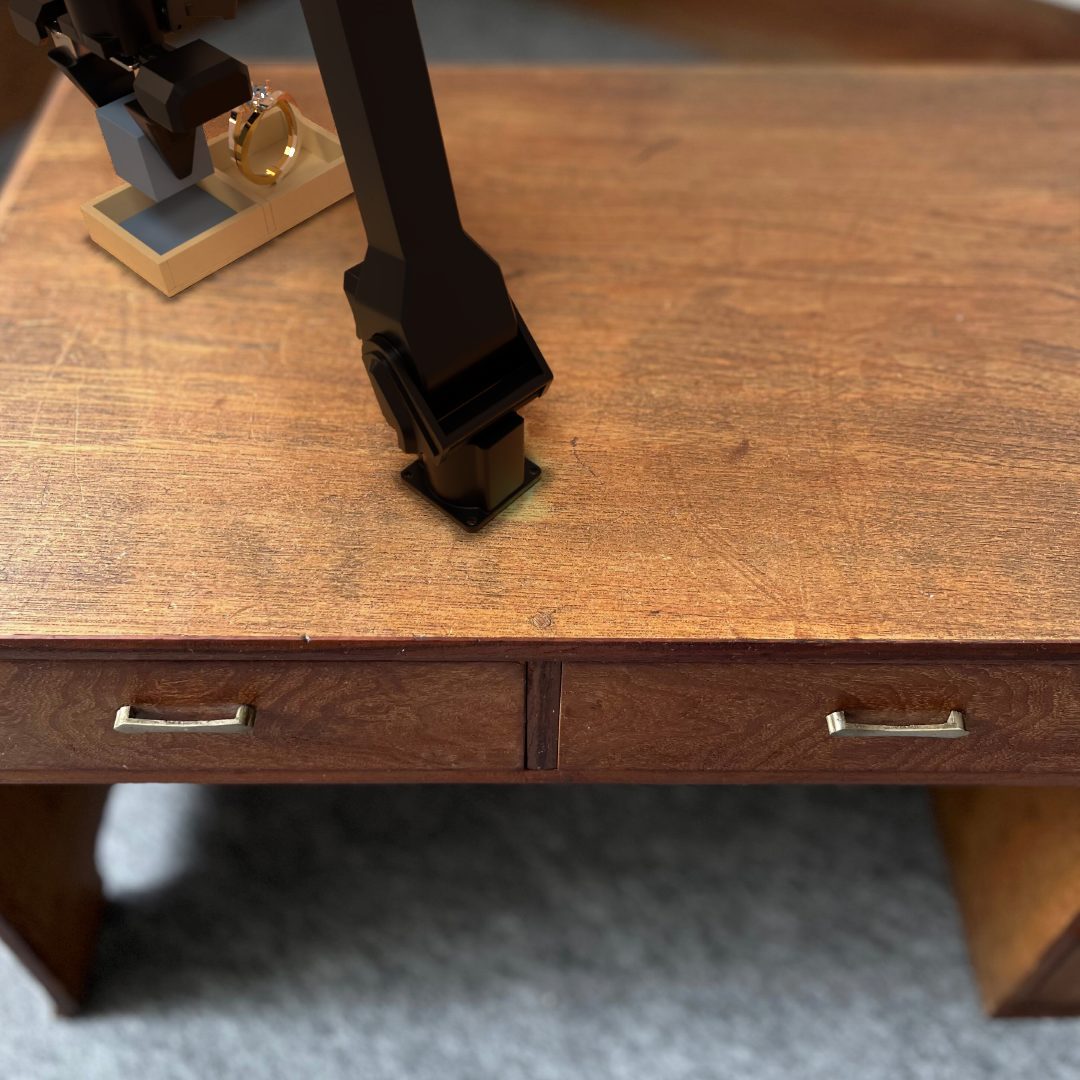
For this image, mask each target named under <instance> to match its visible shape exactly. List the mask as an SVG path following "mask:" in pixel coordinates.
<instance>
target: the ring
mask: <svg viewBox="0 0 1080 1080" xmlns="http://www.w3.org/2000/svg"><path fill="white" fill-rule="evenodd" d="M251 85H252V90H253V97H252V100H251V101H249V102H247V103H244V104H242V105H240V106H238V107H236V108H234V109H232V110H230V116H229V122H228V123H229V124H228V131H229V150H230V156H231V159H232V162H233V164H234V166H235V168H236V170H237V171H238V172H239V173H240V174H241V175H242V176H243V177H244V178H246V179H247V180H249V181H250V182H252V183H254V184H257V185H269V184H272V183H274V182H275V183H280V182H281V181H282V180H283V176H285V175H286V174H287V172H288V171H289V170H290V169H291V167H292V166H293V164H294V162H295V161H296V158H297V156H298V154H299V151H300V147H301V143H302V136H303V122H302V116H303V115H302V113H301V109H300V108H299V105H298V103H297V101H296V100H295V98H294V96H293V95H292V94H291V93H289V92H286V91H284V90H280V89H279V90H274V89H273V90H272V87H271V86H272V85H271V80H270V79H265V85H264V86H260V85H255V84H254V82H253V81H251ZM275 105H276V106H279V107H280V109H281V110H282V112H283V113H284V115H285V118H286V120H287V124H288V144H287V148H286V151H285V153H284V155H283V157H282V159H281V160H280V162H279V163H278V164H277V165H276V166H275V167H274V166H270V167H269V168H268V169H267V172H266V173H264V174H254V173H253V172H252V171H251V169H250V167H249V164H248V148H249V144H250V141H251V138H252V136H253V133H254V131H255V129H256V127H257V125H258V123H259V121H260V120H261V118H262V116H263V114H264V112H266V111H268V110H270V109H271V107H272V108H273V106H275ZM251 110H254V111H253V112H252V113H251V115H250V116H249V117H248V119H247V120H246V121H245V122H246V123H245V122H244V123H245V125H244V127H243V129H242V131H241V134H240V128H241V124H242V120H243V114H244V113H245V114H248V113H249V112H250V111H251ZM301 115H302V116H301Z"/></svg>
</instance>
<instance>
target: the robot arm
mask: <svg viewBox="0 0 1080 1080" xmlns="http://www.w3.org/2000/svg"><path fill="white" fill-rule="evenodd" d="M238 1H239V0H9V2H8V5H7V9H8V11H9V14H10V16H11V19H12V21H13V24H14V27H15V29H16V32H17V34H18V35H19V36H21V37H23V38H24V39H25V40H27V41H28V42H30V43H32V44H33V45H35V46H36V47H39V48H40V47H42V46H44V45H47V43H48V40H49V33H50V34H51V37H52V39H53V42H54V45H55V47H54V48H51V49H49V50H48V51H47V52H46V57H47V58H48V60H49V61H50V62H51V63H53V64H54V65H55V66H56V67H57V68H58V69H59V70H60V72H62V74H63V75H64V76H66V78H67V79H68V80H69V81H70V82H71V83H72V84H73V86H75V87H76V89H78V91H80V93H81V95H83V96H84V97H85V98H86V99H87V100H88V101H89V103H90V104H91V105H92V106H93V107H94V108H95V110H96V109H98V108H101V107H103V106H105V105H107V104H109V103H111V102H114V101H116V100H118V99H120V98H122V97H125V96H127V95H129V94H131V93H133V92H135V93H136V97H137V98H136V99H133V100H131V101H129V102H127V103H125V104H124V107H125V108H126V110H127V111H128V112H129V114H130V115H131V117H132V118H133V119H134V121H135V122H136V124H137V125H138V126H139V128H140V129H141V130H142V132H143V133H144V135H145V136H146V137H147V139H148V140H149V142H150V143H151V144H152V146H153V147H154V149H155V150H156V151H157V153H158V154H159V156H160V157H161V158H162V160H163V161H164V162H165V164H166V165H167V166H168V168H169V169H170V170H171V172H172V173H173V174H174V175H175V177H176V178H178V179H179V180H182V179H184V178H186V177H188V176H190V175H191V174H192V168H193V158H194V148H195V138H196V129H197V127H198V126H200V125H204V124H206V123H208V122H210V121H212V120H214V119H216V118H218V117H221V116H223V115H225V114H227V113H229V112H231V111H232V109H234V108H236V107H238V106H240V105H242V104H244V103H247V102H249V101H251V100H252V97H253V90H252V85H251V82H252V81H251V77H250V71H249V68H248V65H247V64H246V63H244V62H242V61H240V60H238V59H236V58H235V57H233V56H231V55H229V53H226V52H225V51H222V50H221V49H219V48H217V47H216V46H214V45H212V44H211V43H208V42H207V41H205V40H203V39H201V38H197V39H195V40H193V41H190V42H188V43H186V44H184V45H182V46H179V47H176V46H174V45H173V44H171V43H169V42H168V41H166V36H165V35H167V34H169V33H171V34H173V35H177V34H179V33H181V32H183V31H185V30H188V29H190V23H189V19H188V17H195V18H196V17H197V18H199V17H200V18H203V17H205V18H208V17H209V18H222V19H223V20H224V21H233V20H236V19H237V18H238V17H237V16H238V3H239V2H238ZM299 3H300V7H301V11H302V13H303V18H304V21H305V24H306V28H307V31H308V35H309V38H310V41H311V46H312V48H313V52H314V56H315V59H316V63H317V66H318V70H319V73H320V77H321V80H322V84H323V88H324V92H325V95H326V98H327V102H328V105H329V109H330V112H331V116H332V120H333V124H334V127H335V130H336V133H337V134H336V135H337V136H338V137H339V141H340V144H341V148H342V151H343V155H344V158H345V162H346V165H347V169H348V173H349V176H350V180H351V183H352V187H353V190H354V192H353V194H354V197H355V200H356V204H357V208H358V211H359V214H360V218H361V222H362V225H363V229H364V232H365V236H366V240H367V247H366V250H365V255H364V259H363V261H361V262H359V263H357V264H355V265H353V266H351V267H349V268H348V269H346V270H345V271H344V272H343V281H342V282H343V284H342V289H343V292H344V295H345V297H346V300H347V303H348V304H349V308H350V311H351V313H352V315H353V320H354V324H355V336H356V338H357V339H358V340H359V341H361V342H362V344H361V360H362V363H363V366H364V368H365V371H366V373H367V377H368V379H369V382H370V384H371V387H372V391H373V393H374V396H375V398H376V401H377V403H378V406H379V409H380V412H381V414H382V416H383V418H384V420H385V422H386V423H387V424H388V425H389V427H390V428H391V429H393V430H394V431H396V437H397V443H398V444H397V445H398V449H400V450H401V451H402V452H403V453H404V454H406V455H416V456H417V459H416V460H414V461H413V462H412V463H411V464H409V465H408V466H406V467H405V468H404V469H402V470H401V471H400V480H401V483H403V484H404V485H405V486H407V488H409V489H410V490H412V491H413V492H414V493H416V495H418V496H419V497H421V498H422V499H424V500H425V501H426V502H428V503H429V504H430V505H431V506H433V507H434V508H435V509H436V510H438V511H440V512H441V513H442V514H444V515H445V516H446V517H448V518H449V519H450V520H451V521H453V522H454V523H455V524H457V525H458V526H460V527H461V528H462V529H464V530H465V531H466V532H469V533H474V532H475V533H476V532H477V531H479V529H481V528H482V527H483V526H484V525H486V524H487V523H488V522H490V521H491V520H492V519H493V518H494V517H496V516H497V515H498V514H500V512H502V511H503V510H504V509H505V508H507V507H508V506H509V505H510V504H511V503H512V502H514V501H515V500H516V499H518V498H519V497H520V496H521V495H522V494H523V493H525V492H526V491H527V490H528V489H529V488H530V487H532V486H533V485H534V484H536V483H537V482H538V481H539V480H540V479H541V478H542V475H543V474H542V471H543V470H542V468H541V467H540V466H539V465H537V464H536V463H535V462H533V461H532V460H530V459H529V458H528V457H526V456H525V418H524V417H523V416H522V415H520V414H519V413H518V411H519V410H521V409H523V408H524V407H526V406H527V405H529V404H530V403H532V402H533V401H535V400H536V399H537V398H538V399H540V398H542V397H543V396H545V395H546V394H547V393H548V391H549V389H550V387H551V385H552V383H553V381H554V378H555V375H554V373H553V371H552V369H551V368H550V365H549V364H548V362H547V361H546V360H547V359H546V358H545V357H544V354H543V353H542V351H541V350H540V347H539V346H538V343H537V342H536V341H535V338H534V337H533V335H532V332H531V331H530V329H529V328H528V325H527V324H526V322H525V320H524V319H523V317H522V315H521V313H520V311H519V309H518V307H517V306H516V303H515V302H514V300H513V298H512V296H511V295H510V293H509V289H508V287H507V283H506V280H505V276H504V273H503V270H502V266H501V265H500V264H499V262H498V261H497V260H496V259H495V258H494V257H493V256H492V255H491V254H490V253H489V252H488V251H487V250H486V249H484V247H483V246H482V245H481V244H480V243H478V241H476V240H475V239H474V238H473V237H472V236H471V235H470V234H469V233H468V232H467V231H466V230H465V229H464V226H463V223H462V222H463V221H462V219H461V215H460V210H459V205H458V202H457V197H456V192H455V188H454V182H453V179H452V173H451V169H450V164H449V160H448V155H447V150H446V146H445V142H444V141H445V140H444V137H443V132H442V127H441V124H440V118H439V114H438V109H437V104H436V100H435V95H434V91H433V87H432V82H431V81H432V80H431V77H430V72H429V68H428V62H427V57H426V54H425V49H424V45H423V40H422V36H421V31H420V26H419V21H418V17H417V12H416V8H415V4H414V0H299ZM48 32H49V33H48ZM136 70H138V71H137V73H136V74H135V71H136ZM470 523H473V524H470Z"/></svg>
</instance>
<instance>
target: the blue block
mask: <svg viewBox="0 0 1080 1080" xmlns="http://www.w3.org/2000/svg"><path fill="white" fill-rule="evenodd" d="M136 98H137V97H136V93H135V92H133V93H131V94H129V95H127V96H125V97H122V98H120V99H118V100H116V101H114V102H111V103H109V104H107V105H105V106H103V107H101V108H98V109H96V108H95V109H94V114H95V118H96V119H97V122H98V125H99V128H100V131H101V134H102V137H103V139H104V144H105V145H106V148H107V151H108V154H109V158H110V160H111V163H112V165H113V169H114V171H115V172H114V173H115V174H116V176H118V177H119V178H121V179H122V180H124V181H125V182H128V183H129V184H131V185H132V186H134V187H135V188H137V189H138V190H140V191H141V192H143V193H144V194H145V195H147V196H148V197H150V198H151V199H153V200H154V201H156V202H157V203H158V202H160V201H162V200H164V199H166V198H168V197H169V196H171V195H173V194H175V193H177V192H179V191H181V190H183V189H185V188H187V187H189V186H191V185H192V184H194V183H196V182H198V181H200V180H202V179H204V178H206V177H208V176H210V175H212V174H213V173H215V171H214V167H213V163H212V159H211V155H210V152H209V148H208V144H207V141H208V140H207V137H206V132H205V130H204V129H205V128H204V126H203V125H204V124H202V125H200V126H198V127H197V129H196V138H195V148H194V158H193V168H192V174H191V175H190V176H188V177H186V178H184V179H182V180H179V179H178V178H176V177H175V175H174V174H173V173H172V172H171V170H170V169H169V168H168V166H167V165H166V164H165V162H164V161H163V160H162V158H161V157H160V156H159V154H158V153H157V151H156V150H155V149H154V147H153V146H152V144H151V143H150V142H149V140H148V139H147V137H146V136H145V135H144V133H143V132H142V130H141V129H140V128H139V126H138V125H137V124H136V122H135V121H134V119H133V118H132V117H131V115H130V114H129V112H128V111H127V110H126V108H125V107H124V104H125V103H127V102H129V101H131V100H133V99H136Z"/></svg>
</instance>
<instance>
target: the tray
mask: <svg viewBox="0 0 1080 1080" xmlns="http://www.w3.org/2000/svg"><path fill="white" fill-rule="evenodd" d="M301 116H302V122H303V136H302V143H301V147H300V151H299V154H298V156H297V158H296V161H295V162H294V164H293V166H292V167H291V169H290V170H289V171H288V172H287V174H286V175H285V176H283V180H282V181H281V182H280V183H275V182H274V183H272V184H269V185H257V184H254V183H252V182H250V181H249V180H247V179H246V178H244V177H243V176H242V175H241V174H240V173H239V172H238V171H237V170H236V168H235V166H234V164H233V162H232V159H231V156H230V150H229V130H227V131H225V132H222V133H221V134H219V135H217V136H215V137H213V138H211V139H209V140H207V144H208V148H209V152H210V155H211V159H212V163H213V167H214V171H215V173H213V174H212V175H210V176H208V177H206V178H204V179H202V180H200V181H198V182H196V183H194V184H192V185H191V186H189V187H187V188H185V189H183V190H181V191H179V192H177V193H175V194H173V195H171V196H169V197H168V198H166V199H164V200H162V201H160V202H158V203H157V202H156V201H154V200H153V199H151V198H150V197H148V196H147V195H145V194H144V193H143V192H141V191H140V190H138V189H137V188H135V187H134V186H132V185H131V184H129V183H128V182H127V181H125V182H124V183H122V184H120V185H118V186H115V187H114V188H112V189H110V190H108V191H106V192H104V193H102V194H100V195H97V196H95V197H94V198H92V199H90V200H88V201H86V202H84V203H82V204H80V205H79V206H78V207H79V210H80V213H81V216H82V219H83V220H84V223H85V225H86V229H87V231H88V233H89V236H90V239H91V240H92V241H93V242H95V243H96V244H97V245H99V246H100V247H101V248H102V249H104V250H105V251H106V252H108V253H109V254H111V255H112V256H113V257H115V258H116V259H117V260H119V261H120V262H121V263H122V264H123V265H125V266H127V267H128V268H130V270H132V271H133V272H135V273H136V274H137V275H138V276H140V277H142V278H143V279H144V280H145V281H146V282H148V283H149V284H150V285H152V286H153V287H154V288H156V289H158V290H159V291H160V292H161V293H162V294H164V295H165V296H166V297H168V298H172V297H173V296H175V295H177V294H178V293H180V292H182V291H185V290H186V289H187V288H190V286H193V285H195V284H196V283H198V282H199V281H201V280H203V279H205V278H206V277H208V276H210V275H212V274H214V273H216V272H218V271H219V270H220V269H222V268H224V267H225V266H227V265H230V264H231V263H232V262H234V261H236V260H237V259H239V258H241V257H243V256H245V255H247V254H248V253H250V252H252V251H253V250H256V249H257V248H259V247H261V246H262V245H264V244H266V243H267V242H269V241H271V240H272V239H274V238H276V237H277V236H279V235H282V234H283V233H285V232H286V231H289V230H290V229H291V228H294V227H296V226H297V225H299V224H301V223H302V222H305V220H308V219H309V218H311V217H312V216H314V215H316V214H318V213H320V212H321V211H323V210H325V209H326V208H329V207H330V206H332V205H334V204H335V203H336V202H338V201H340V200H342V199H344V198H346V197H347V196H350V195H351V194H352V193H354V190H353V187H352V183H351V180H350V176H349V173H348V169H347V165H346V162H345V158H344V155H343V151H342V148H341V144H340V141H339V137H338V135H337V134H334V133H332V132H331V131H329V130H328V129H326V128H325V127H322V126H320V125H319V124H317V123H315V122H314V121H312V120H310V119H309V118H307V117H305V116H303V115H302V114H301ZM246 122H247V121H245V122H242V123H241V128H240V134H241V131H242V129H243V127H244V125H245V123H246ZM287 144H288V124H287V120H286V118H285V115H284V113H283V112H282V110H281V109H280V107H279V106H278V105H276V106H274V107H272V108H269V109H267V110H266V111H265V112H264V114H263V116H262V118H261V120H260V121H259V123H258V125H257V127H256V129H255V131H254V133H253V136H252V138H251V141H250V144H249V148H248V164H249V167H250V169H251V171H252V172H253V173H254V174H264V173H266V172H267V169H268V168H269V167H270V166H274V167H275V166H276V165H277V164H278V163H279V162H280V160H281V159H282V157H283V155H284V153H285V151H286V148H287Z"/></svg>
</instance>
